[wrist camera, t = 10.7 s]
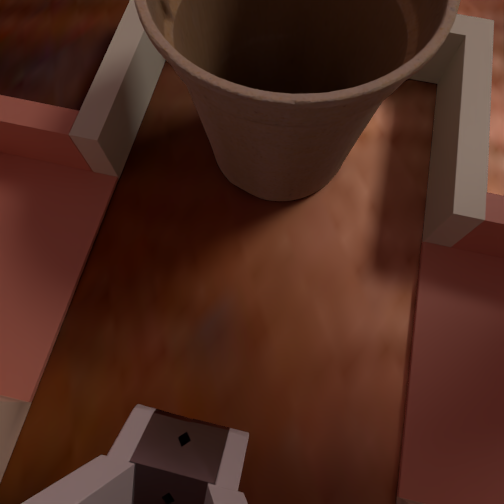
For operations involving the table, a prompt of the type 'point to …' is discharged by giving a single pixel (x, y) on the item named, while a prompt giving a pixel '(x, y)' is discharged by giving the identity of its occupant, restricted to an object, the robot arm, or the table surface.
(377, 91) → the flower pot
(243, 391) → the table surface
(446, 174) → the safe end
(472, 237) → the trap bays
